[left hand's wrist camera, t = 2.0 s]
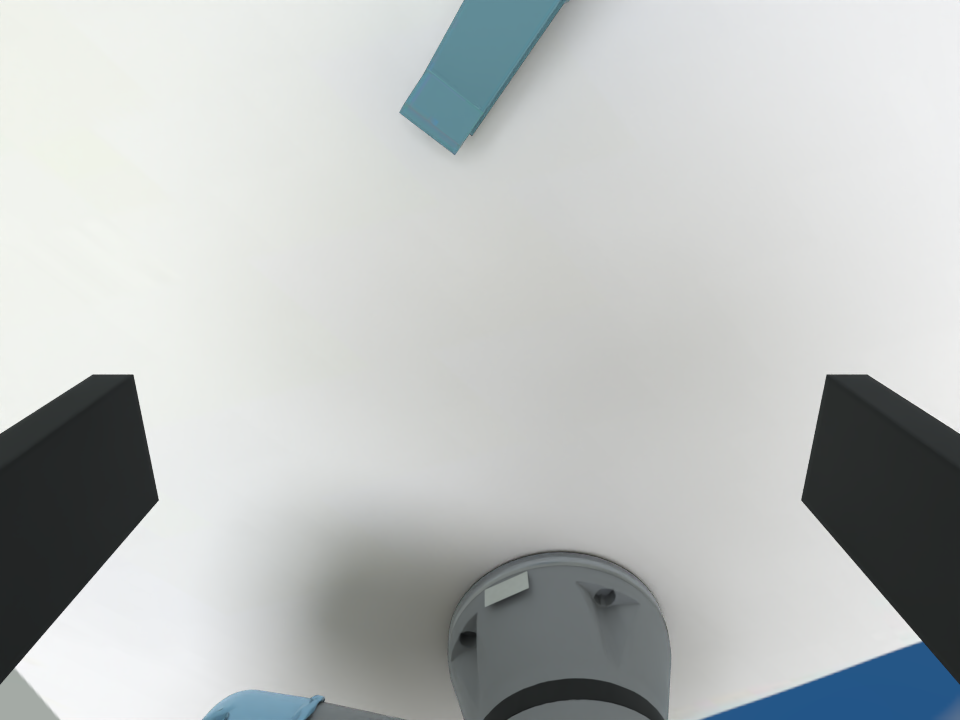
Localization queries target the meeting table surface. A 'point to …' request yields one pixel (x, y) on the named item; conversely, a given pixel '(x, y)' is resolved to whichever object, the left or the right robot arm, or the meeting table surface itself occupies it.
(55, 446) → the left robot arm
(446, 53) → the toy gun
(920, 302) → the meeting table surface
